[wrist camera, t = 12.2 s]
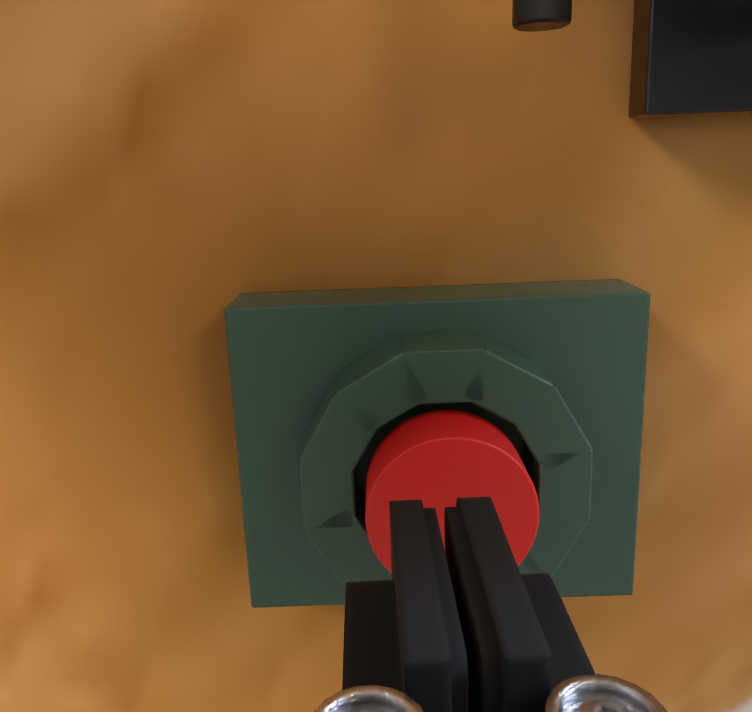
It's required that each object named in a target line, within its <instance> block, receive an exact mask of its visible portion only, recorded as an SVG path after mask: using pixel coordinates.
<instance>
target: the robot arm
mask: <svg viewBox="0 0 752 712" xmlns="http://www.w3.org/2000/svg"><path fill="white" fill-rule="evenodd" d="M389 512H390V540H391V568H392V580H382V581H360V582H346V590H345V623H344V656H343V688H342V690H341V691H339V692H338V693H336V694H334V695H332V696H330V697H329V698H327V699H325V700H324V701H323V702H322V703H321V704H320V705H319V706H318V707H317V708H316V709H315V710H314V712H667V710H666V709H665V708H664V707H663V706H662V705H661V704H660V703H659V702H658V701H657V700H656V699H655V698H654V697H653V696H652V695H651V694H650V693H648V692H647V691H645V690H644V689H642V688H640V687H639V686H637V685H636V684H633V683H630V682H628V681H625V680H622V679H620V678H617V677H611V676H605V675H599V674H595V672H594V670H593V668H592V666H591V663H590V661H589V659H588V657H587V655H586V652H585V650H584V648H583V646H582V644H581V641H580V639H579V637H578V635H577V633H576V630H575V628H574V626H573V624H572V622H571V619H570V617H569V615H568V613H567V611H566V608H565V606H564V604H563V602H562V600H561V597H560V595H559V593H558V591H557V589H556V587H555V584H554V582H553V580H552V578H551V577H550V575H549V574H547V573H534V574H520V571H519V569H518V566H517V564H516V561H515V558H514V556H513V553H512V551H511V548H510V545H509V543H508V540H507V538H506V535H505V532H504V530H503V527H502V525H501V522H500V519H499V517H498V514H497V512H496V509H495V507H494V504H493V501H492V499H491V497H490V496H489V497H466V498H457V500H456V507H445V511H444V528H445V550H444V546H443V541H442V536H441V532H440V527H439V523H438V518H437V513H436V509H435V508H423V503H422V500H399V501H389Z"/></svg>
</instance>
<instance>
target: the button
mask: <svg viewBox="0 0 752 712" xmlns="http://www.w3.org/2000/svg"><path fill="white" fill-rule="evenodd" d="M489 496H490V497H491V499H492V501H493V504H494V507H495V509H496V512H497V514H498V517H499V519H500V522H501V525H502V527H503V530H504V532H505V535H506V538H507V540H508V543H509V545H510V548H511V551H512V553H513V556H514V558H515V561H516V564H517V566H519V565H520V564H521V562H522V561H523V560H524V558H525V557H526V556H527V554H528V552H529V550H530V548H531V547H532V545H533V542H534V539H535V537H536V534H537V530H538V525H539V515H540V514H539V502H538V497H537V493H536V490H535V487H534V484H533V482H532V480H531V478H530V476H529V474H528V472H527V470H526V468H525V466H524V464H523V462H522V460H521V458H520V456H519V454H518V452H517V450H516V449H515V447H514V445H513V443H512V442H511V441H510V439H509V438H508V437H507V436H506V435H505V434H504V433H503V432H502V430H500V429H499V428H498V427H497V426H495V425H494V424H493V423H491V422H489V421H488V420H486V419H484V418H482V417H480V416H477V415H475V414H471V413H468V412H464V411H457V410H437V411H430V412H426V413H422V414H419V415H416V416H414V417H412V418H410V419H408V420H406V421H404V422H402V423H401V424H399V425H398V426H396V427H395V428H394V429H393V430H392V431H390V432H389V433H388V434H387V435H386V436H385V437H384V439H383V440H382V441H381V442H380V444H379V445H378V447H377V448H376V450H375V452H374V454H373V456H372V458H371V461H370V464H369V467H368V472H367V478H366V510H365V523H366V531H367V535H368V539H369V542H370V544H371V547H372V549H373V551H374V553H375V554H376V556H377V558H378V559H379V561H380V562H381V563H382V564H383V566H384V567H385V568H386V569H387V570H388V571H389V572H390V573H391V574H392V568H391V540H390V512H389V501H399V500H422V503H423V508H435V509H436V513H437V518H438V523H439V527H440V532H441V536H442V541H443V546H444V550H445V528H444V511H445V507H456V500H457V498H466V497H489Z"/></svg>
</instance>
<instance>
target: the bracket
mask: <svg viewBox="0 0 752 712" xmlns="http://www.w3.org/2000/svg"><path fill="white" fill-rule="evenodd" d="M732 114H752V0H635V2H634V22H633V43H632V64H631V85H630V106H629V117H630V118H656V117H682V116H707V115H732Z"/></svg>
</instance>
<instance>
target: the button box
mask: <svg viewBox="0 0 752 712" xmlns="http://www.w3.org/2000/svg"><path fill="white" fill-rule="evenodd" d="M649 306H650V293H649V292H647V291H644V290H642V289H640V288H638V287H635V286H633V285H631V284H629V283H627V282H624V281H622V280H620V279H607V280H580V281H553V282H527V283H500V284H473V285H447V286H420V287H393V288H367V289H340V290H313V291H287V292H260V293H242V294H240V295H239V296H238V297H237V298H236V299H235V300H234V301H233V302H232V303H231V304H229V305H228V306H227V307H226V308H225V310H224V312H225V323H226V334H227V345H228V355H229V366H230V377H231V388H232V399H233V410H234V421H235V431H236V442H237V453H238V464H239V475H240V486H241V497H242V508H243V518H244V529H245V540H246V551H247V562H248V573H249V584H250V595H251V605H252V607H282V606H312V605H341V604H345V590H346V582H360V581H382V580H392V574H391V573H390V572H389V571H388V570H387V569H386V568H385V567H384V566H383V564H382V563H381V562H380V561H379V559H378V558H377V556H376V554H375V553H374V551H373V549H372V547H371V544H370V542H369V539H368V535H367V531H366V523H365V510H366V478H367V472H368V467H369V464H370V461H371V458H372V456H373V454H374V452H375V450H376V448H377V447H378V445H379V444H380V442H381V441H382V440H383V439H384V437H385V436H386V435H387V434H388V433H389V432H390V431H392V430H393V429H394V428H395V427H396V426H398V425H399V424H401V423H402V422H404V421H406V420H408V419H410V418H412V417H414V416H416V415H419V414H422V413H426V412H430V411H437V410H457V411H464V412H468V413H471V414H475V415H477V416H480V417H482V418H484V419H486V420H488V421H489V422H491V423H493V424H494V425H495V426H497V427H498V428H499V429H500V430H502V432H503V433H504V434H505V435H506V436H507V437H508V438H509V439H510V441H511V442H512V443H513V445H514V447H515V449H516V450H517V452H518V454H519V456H520V458H521V460H522V462H523V464H524V466H525V468H526V470H527V472H528V474H529V476H530V478H531V480H532V482H533V484H534V487H535V490H536V493H537V497H538V502H539V514H540V515H539V525H538V530H537V534H536V537H535V539H534V542H533V545H532V547H531V548H530V550H529V552H528V554H527V556H526V557H525V558H524V560H523V561H522V562H521V564H520V565H519V566H518V569H519V571H520V574H534V573H547V574H549V575H550V577H551V578H552V580H553V582H554V584H555V587H556V589H557V591H558V593H559V595H560V597H580V596H610V595H632V594H633V580H634V563H635V546H636V529H637V512H638V495H639V478H640V461H641V443H642V426H643V409H644V392H645V375H646V358H647V341H648V323H649Z"/></svg>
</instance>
